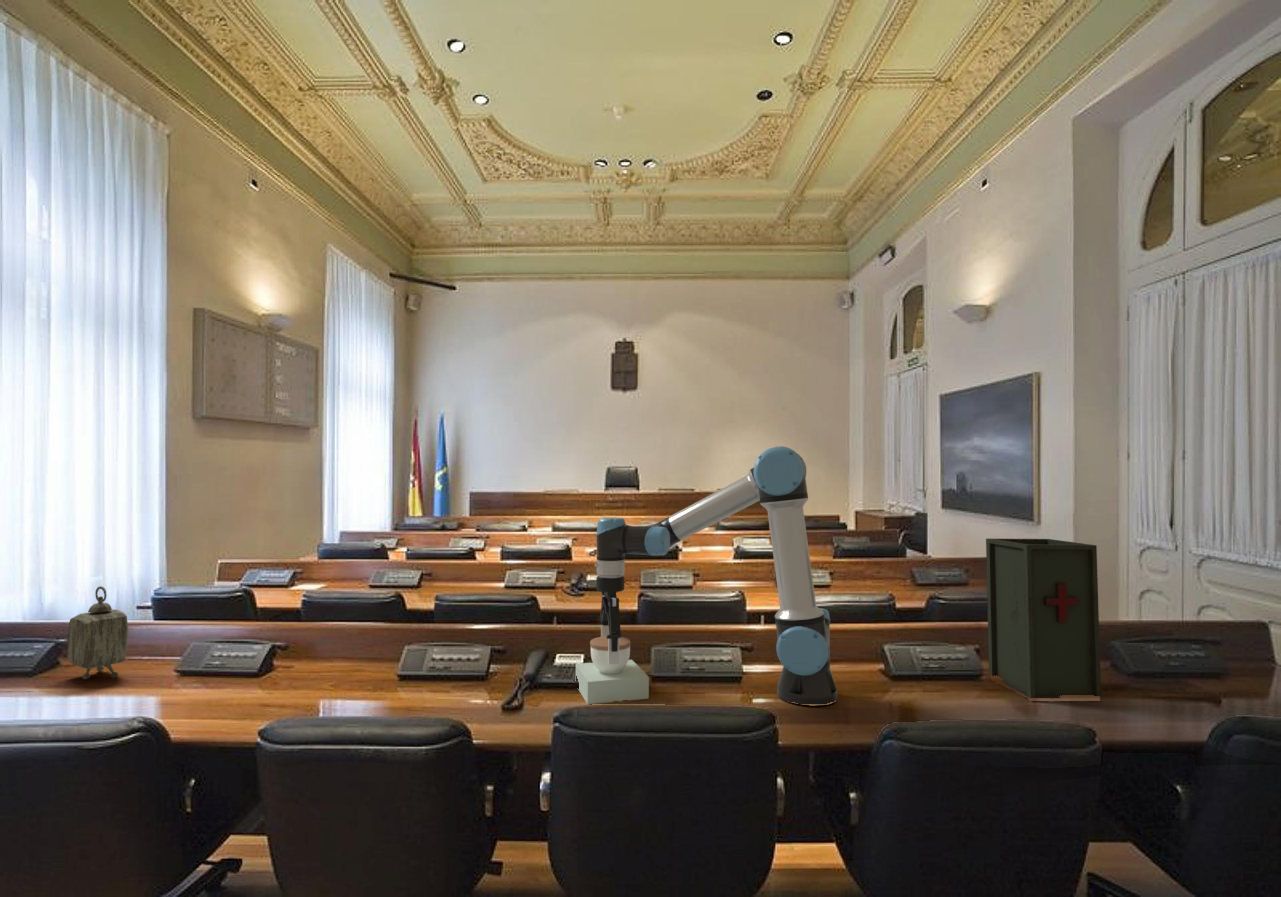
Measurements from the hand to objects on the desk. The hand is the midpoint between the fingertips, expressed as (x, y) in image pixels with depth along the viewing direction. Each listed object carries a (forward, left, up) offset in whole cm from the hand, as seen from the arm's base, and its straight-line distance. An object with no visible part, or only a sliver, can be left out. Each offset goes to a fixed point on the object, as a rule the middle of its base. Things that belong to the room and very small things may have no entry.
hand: (609, 656), depth 166 cm
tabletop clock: (+139, -37, -9) cm, 144 cm away
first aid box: (-116, +19, -9) cm, 118 cm away
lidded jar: (0, 0, -4) cm, 4 cm away
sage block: (0, -1, -10) cm, 10 cm away
